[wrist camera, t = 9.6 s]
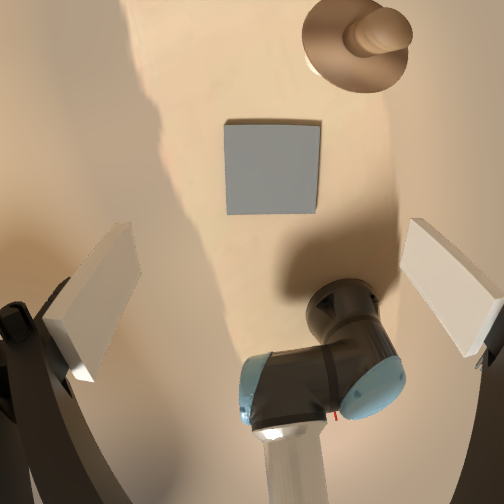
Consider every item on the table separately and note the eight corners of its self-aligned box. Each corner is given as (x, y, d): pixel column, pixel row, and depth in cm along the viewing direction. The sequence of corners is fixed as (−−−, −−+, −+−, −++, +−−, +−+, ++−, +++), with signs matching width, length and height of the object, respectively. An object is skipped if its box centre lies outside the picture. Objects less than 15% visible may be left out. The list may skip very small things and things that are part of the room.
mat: (313, 211, 47) (315, 213, 46) (227, 212, 47) (227, 215, 46) (318, 125, 40) (320, 126, 40) (224, 125, 40) (223, 125, 39)
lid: (403, 100, 27) (448, 105, 19) (303, 88, 27) (325, 83, 19) (399, 9, 21) (441, -8, 13) (299, -10, 21) (318, -42, 13)
